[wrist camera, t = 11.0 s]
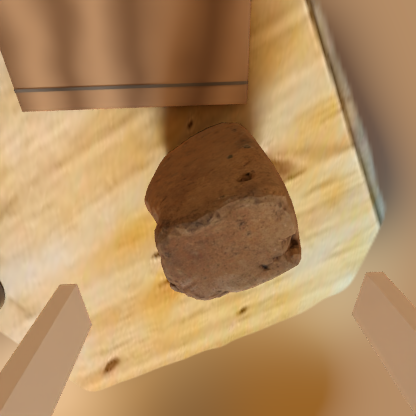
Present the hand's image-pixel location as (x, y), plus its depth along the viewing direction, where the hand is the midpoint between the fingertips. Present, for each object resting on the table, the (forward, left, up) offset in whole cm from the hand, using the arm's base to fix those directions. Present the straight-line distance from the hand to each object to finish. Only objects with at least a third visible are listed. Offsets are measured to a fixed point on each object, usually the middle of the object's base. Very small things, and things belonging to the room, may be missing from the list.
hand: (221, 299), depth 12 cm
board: (-8, +12, -22) cm, 26 cm away
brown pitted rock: (0, 0, -23) cm, 23 cm away
